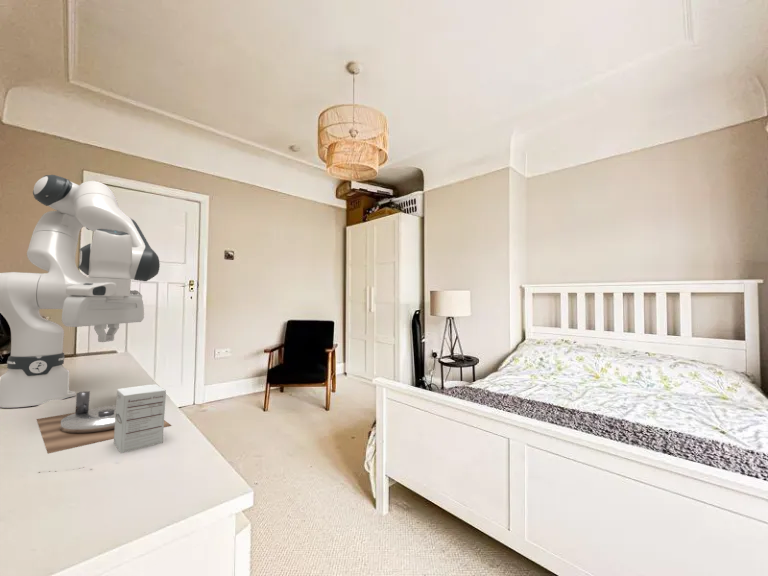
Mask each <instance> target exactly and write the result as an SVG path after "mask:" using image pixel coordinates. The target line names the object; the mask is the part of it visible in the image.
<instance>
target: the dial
mask: <svg viewBox="0 0 768 576" xmlns="http://www.w3.org/2000/svg"><path fill="white" fill-rule="evenodd" d="M90 392H91V391H88V390H83V391H79V392H77V393H76V398H75V412H73V413H74V414H71V415H69V416H67V417H65V418H63V419H62V420H61V426H60V429H61V430H62V431H64V432H68V433H90V432H99V431H105V430H111V429H115V416H116V405H115V404H114V405H108V406H107V405H106V406H99V407H95V408H90V394H91V393H90Z"/></svg>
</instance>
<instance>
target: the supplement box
mask: <svg viewBox="0 0 768 576" xmlns="http://www.w3.org/2000/svg"><path fill="white" fill-rule="evenodd" d="M166 393H167V391H166V389H165V388H163V387H162V386H160V385H158V384H156V383H154V384H145V385H138V386H137V385H136V386H129V387H122V388H117V389H116V402H115V404H116V416H115V430H114V439H113V444H114V446H115V447H116V449H117V450H118V452H119V453H120V454H122V453H126V452H132V451H135V450H139V449H142V448H143V449H144V448H148V447H152V446H156V445H159V444H163V443H164V429H165V427H164V420H165V414H166V413H165V411H166V410H165V409H166Z"/></svg>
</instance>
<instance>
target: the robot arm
mask: <svg viewBox="0 0 768 576" xmlns="http://www.w3.org/2000/svg"><path fill="white" fill-rule="evenodd" d="M32 196H33V198H34V199H35V200H36V201H37V202H38V203H40V204H42V205H43V206H46V207H50V208H51V209H53V210H50V211H47V212H45V213H43V214H42V215H41V216H40V218H39V220H38V221H37V222H36V224H35V227H34V229H33V231H32V235H31V238H30V241H29V245H28V247H27V251H26V256H27V259H28V261H29V262H30V263H31V264H32V265H34V266H35V267H37V268H38V269H41V270H44V271H46V272H45V273H44V272H42V273H41V272H39V273H38V272H18V271H10V272H8V271H7V272H0V314H1V315H2V316H3V318H4V319H5V320H6V322H7V324H8V325H9V328H10V341H11V344H10V355H9V356H8V357H7V361H6V364H7V366H6V368H7V369H8V370H6V372H4V373H3V374H2V375H1V376H0V408H3V409H4V408H5V409H7V408H8V409H10V408H25V407H31V406H32V407H33V406H40V405H42V404H44V403H47V402H50V401H59V400H60V401H61V400H65V399H67V398H71V397H75V396H77V393H76V391H74V390H70V370H68V369H67V368H66V367H64V361H65V352H63V351H64V350H63V349H64V337H65V330H64V328H63V327H62V326H61V325H60V324H58V323H57V322H55V321H52V320H50V319H46V318H43V316H42V315H41V313H40V310H61V311H62V313H61V323H62V324H63V326H65V327H68V328H69V327H70V328H73V327H74V328H79V327H91V326H92V327H94V328H93V329H94V332H95V333H96V334H97V341H98V342H99V343H107V342H113V341H114V340H115V335H116V333H117V331H118V330H119V328H120V325H121V324H133V323H141V322H142V321H143V320H144V318H145V310H144V309H145V307H144V305H145V304H144V300H143V295H142V294H141V292H139V290H131V286H132V285H131V283H132V280H134V281H141V282H147V281H150V280H151V279H153V278H155V277H156V276H157V275H158V274H159V272H160V265H161V263H160V259H159V256H158V254H157V253H156V251H155V250H154V249H153V248H152V247H151V246H150V243H149V242H148V240H147V238H146V237H145V235H144V233H143V231H142V230H141V228H140V225H138V223H137V221H136V220H134V219H133V218H131V217H130V216H128V215H127V214H126V213H124V212H123V210H121V208H120V207H119V203H118V200H117V198H116V196H115V193H114V192H113V191H112V190H111V188H110V187H109V186H108V185H106V184H105V183H103V182H100V181H97V180H96V181H95V180H89V181H88V180H87V181H84V182H82V183H80V184H77V183H75V182H73V181H71V180H70V179H67V178H65V177H63V176H60V175H55V174H45V175H43V176H41V178H39V179H38V180H37V181H36V182H35V184H34V185H33V191H32ZM82 228H85V229H86V230H88V231H91V232H94V233H93V237H92V240H91V243H88V244H85V245H84V246H81V247H80V248H79V261H78V267H77V263H76V254H77V249H78V243H79V236H80V232H81V230H82ZM107 329H108V330H107ZM106 330H107V332H106Z"/></svg>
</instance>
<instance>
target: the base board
mask: <svg viewBox="0 0 768 576" xmlns="http://www.w3.org/2000/svg"><path fill="white" fill-rule="evenodd" d="M74 413H75V412H72V413H71V412H70V413H65V414H64V413H63V414H59V415H52V416H47V417H41V418H36V422H37V425H38V428H39V429H38V430H39V431H40V434H41V438H42V440H43V443H44V447H45V449H46V453H47V454H52V453H56V452H61V451H66V450H70V449H75V448H79V447H83V446H89V445H92V444H96V443H102V442H106V441H109V440H114V430H115V429H111V430H105V431H99V432H90V433H68V432H64V431H62V430H61V429H60V426H61V420H62V419H63V418H65V417H67V416H69V415H71V414H74ZM172 426H173V425H172V424H171V423H169V422H167V421H166V420H165V419H164V428H167V427H168V428H169V427H172Z"/></svg>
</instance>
